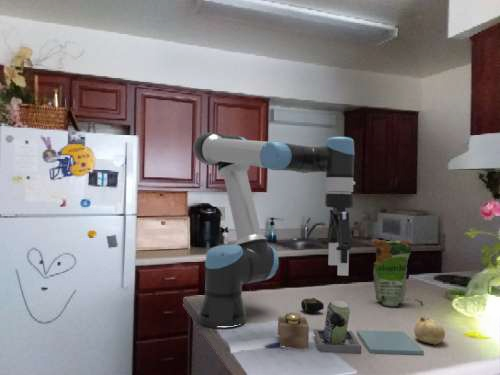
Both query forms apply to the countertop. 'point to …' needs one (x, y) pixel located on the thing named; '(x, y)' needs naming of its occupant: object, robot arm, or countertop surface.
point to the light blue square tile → (389, 342)
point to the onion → (429, 331)
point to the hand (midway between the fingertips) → (337, 269)
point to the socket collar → (337, 348)
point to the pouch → (391, 270)
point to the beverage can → (336, 322)
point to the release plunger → (293, 317)
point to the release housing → (293, 333)
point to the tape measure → (312, 305)
